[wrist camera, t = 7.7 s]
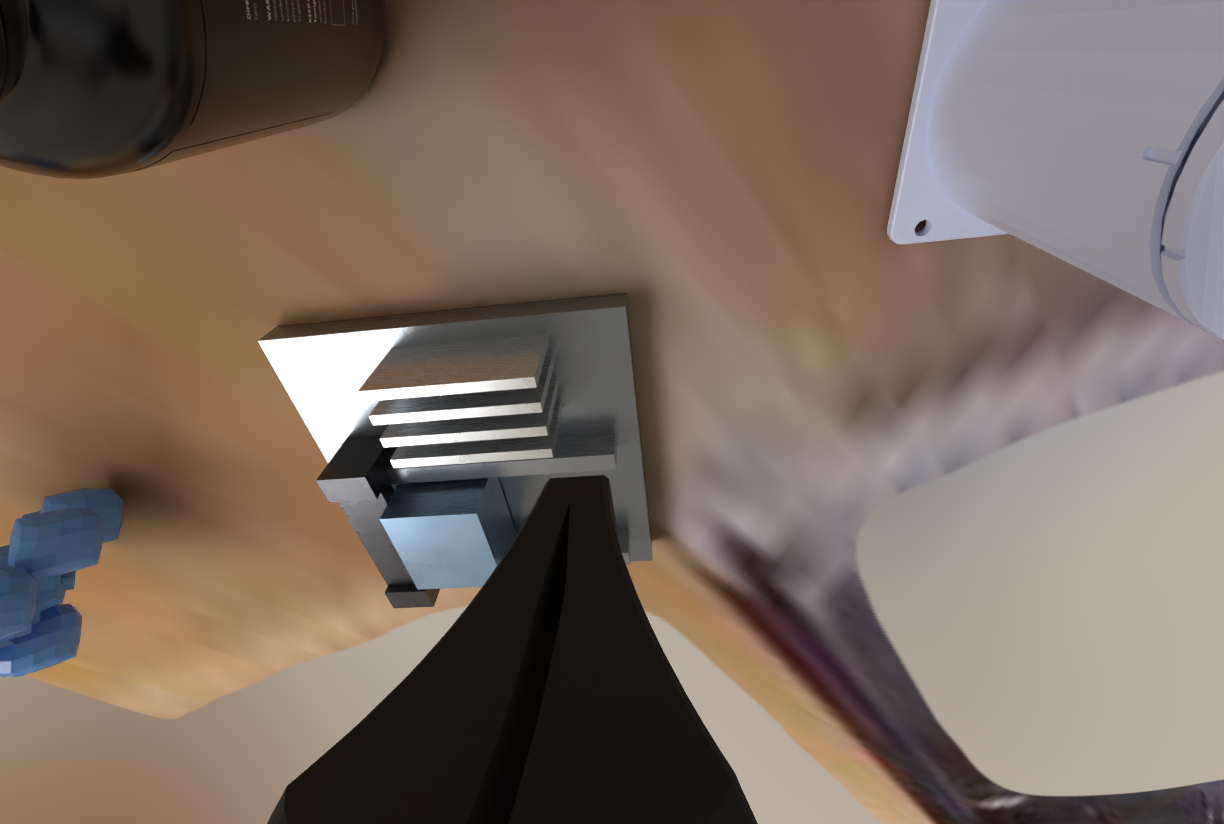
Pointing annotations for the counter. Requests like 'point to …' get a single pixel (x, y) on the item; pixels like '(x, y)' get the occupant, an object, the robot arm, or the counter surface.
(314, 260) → the counter surface
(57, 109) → the supplement bottle
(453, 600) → the counter surface
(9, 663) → the grapes
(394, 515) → the blue-grey rectangular block
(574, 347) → the heatsink base
